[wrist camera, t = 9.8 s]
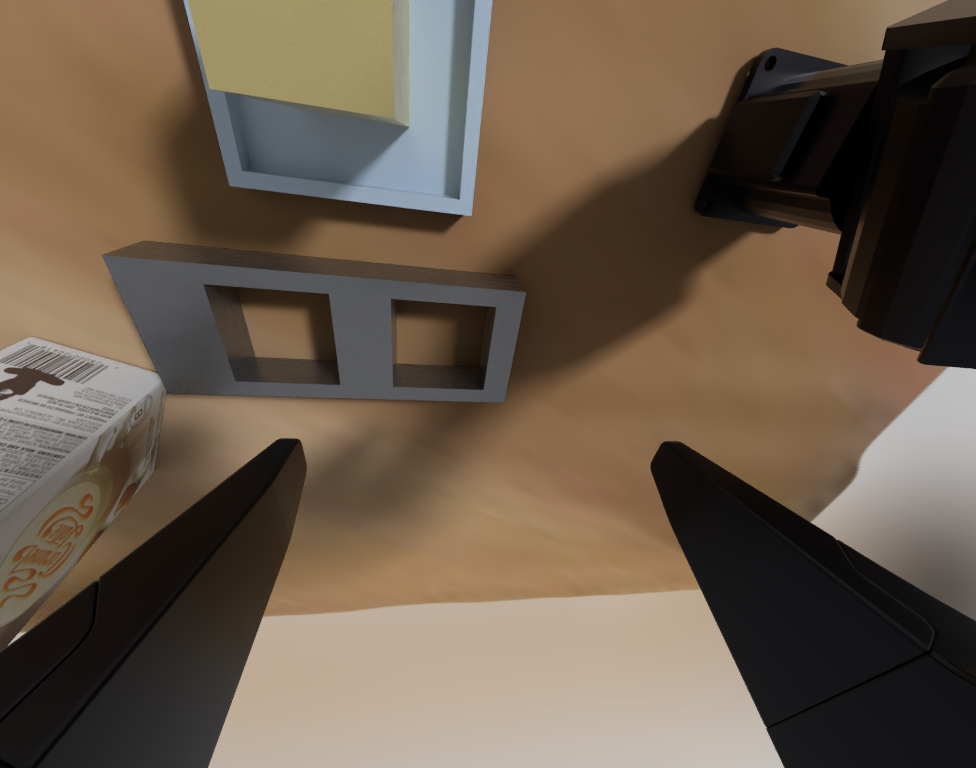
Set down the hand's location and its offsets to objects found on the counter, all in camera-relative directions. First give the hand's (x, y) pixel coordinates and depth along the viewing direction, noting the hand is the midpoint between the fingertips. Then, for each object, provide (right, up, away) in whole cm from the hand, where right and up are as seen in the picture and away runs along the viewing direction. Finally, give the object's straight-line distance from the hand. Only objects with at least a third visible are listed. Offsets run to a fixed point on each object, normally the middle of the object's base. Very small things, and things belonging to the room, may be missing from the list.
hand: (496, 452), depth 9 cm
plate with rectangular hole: (-8, +5, +11) cm, 15 cm away
